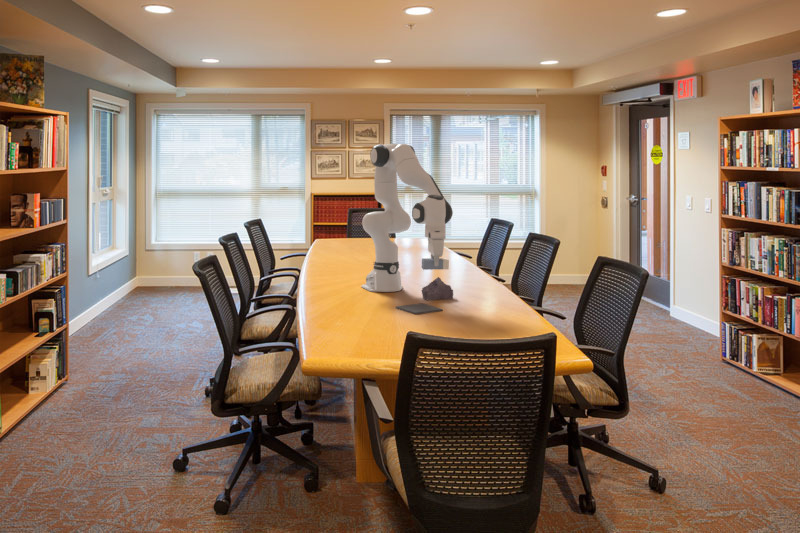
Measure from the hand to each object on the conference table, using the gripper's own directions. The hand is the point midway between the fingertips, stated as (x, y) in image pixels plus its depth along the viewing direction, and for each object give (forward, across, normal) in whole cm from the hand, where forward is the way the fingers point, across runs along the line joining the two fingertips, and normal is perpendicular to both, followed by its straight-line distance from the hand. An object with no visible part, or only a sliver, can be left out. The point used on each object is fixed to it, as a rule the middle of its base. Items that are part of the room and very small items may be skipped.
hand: (434, 264), depth 297 cm
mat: (+18, +7, -8) cm, 21 cm away
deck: (+2, 0, 0) cm, 2 cm away
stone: (+19, -16, +4) cm, 25 cm away
